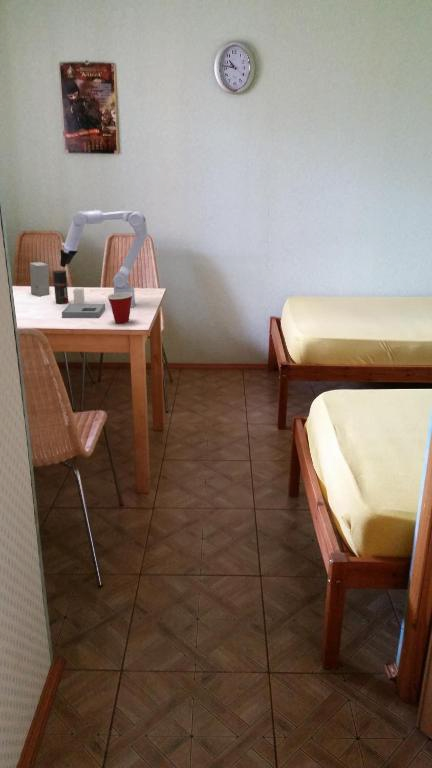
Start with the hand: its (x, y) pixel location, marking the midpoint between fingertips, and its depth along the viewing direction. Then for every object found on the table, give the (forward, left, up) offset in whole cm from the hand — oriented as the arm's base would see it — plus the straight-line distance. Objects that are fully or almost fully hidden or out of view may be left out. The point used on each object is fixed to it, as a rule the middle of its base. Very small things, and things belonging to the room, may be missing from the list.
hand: (64, 265), depth 285 cm
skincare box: (+19, -25, -19) cm, 37 cm away
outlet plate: (-11, +14, -19) cm, 26 cm away
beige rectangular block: (-6, 0, -19) cm, 20 cm away
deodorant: (+4, -7, -19) cm, 21 cm away
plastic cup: (-30, +29, -19) cm, 46 cm away
